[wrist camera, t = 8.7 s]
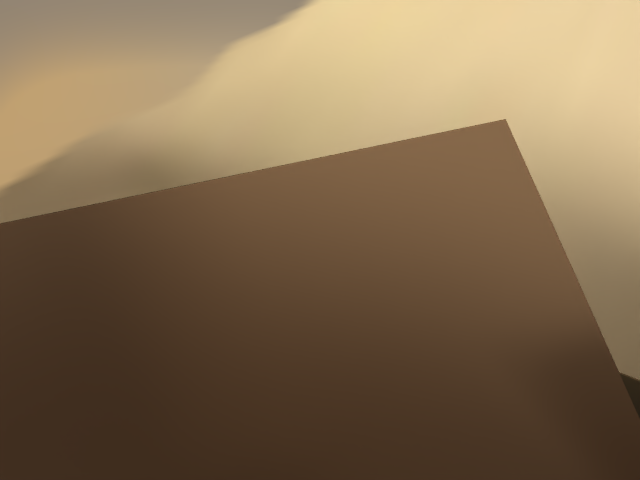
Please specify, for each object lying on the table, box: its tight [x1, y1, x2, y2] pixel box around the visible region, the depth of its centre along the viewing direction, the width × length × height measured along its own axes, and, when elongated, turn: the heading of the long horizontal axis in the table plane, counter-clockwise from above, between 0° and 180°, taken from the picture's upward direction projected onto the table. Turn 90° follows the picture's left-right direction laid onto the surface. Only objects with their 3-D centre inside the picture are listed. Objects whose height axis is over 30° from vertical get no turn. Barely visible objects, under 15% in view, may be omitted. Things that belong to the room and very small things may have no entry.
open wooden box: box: [0, 119, 640, 480], centre depth 9 cm, size 6×6×11 cm
